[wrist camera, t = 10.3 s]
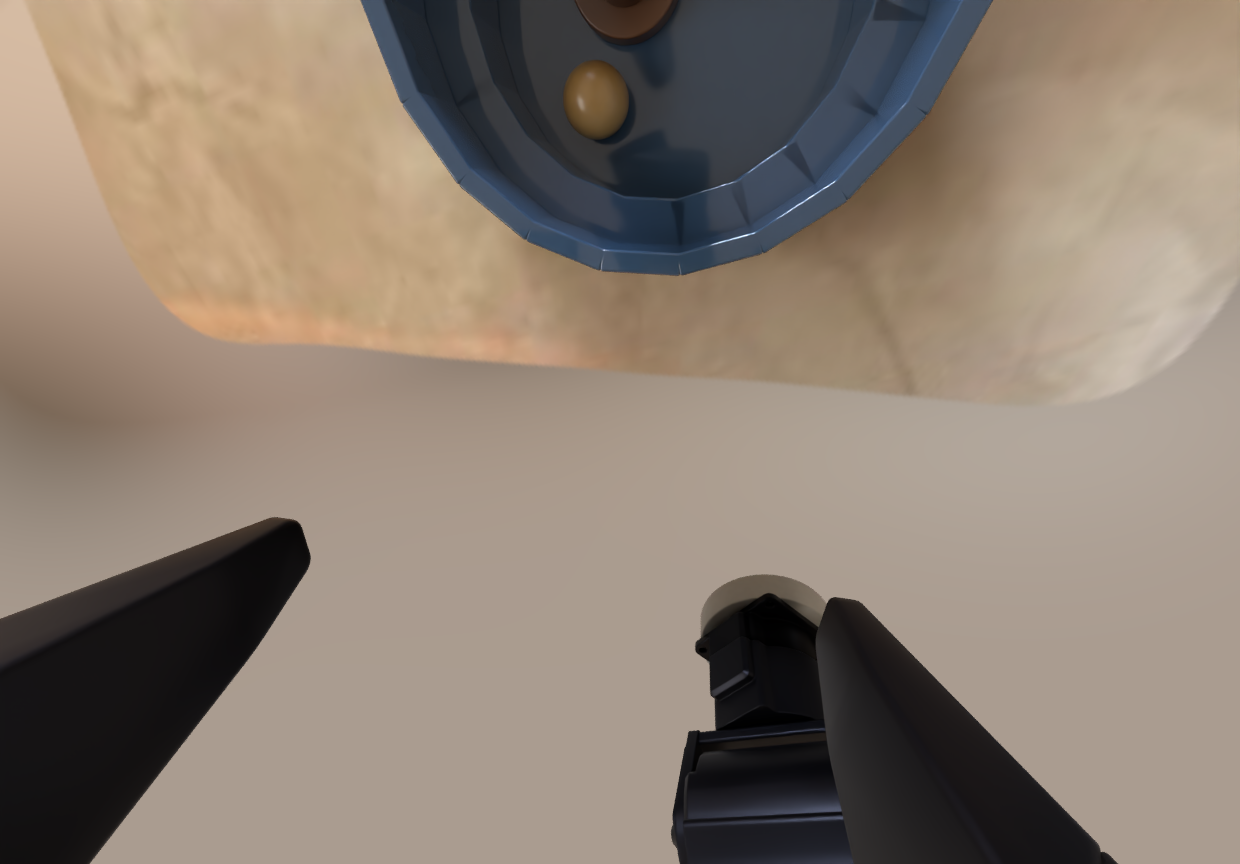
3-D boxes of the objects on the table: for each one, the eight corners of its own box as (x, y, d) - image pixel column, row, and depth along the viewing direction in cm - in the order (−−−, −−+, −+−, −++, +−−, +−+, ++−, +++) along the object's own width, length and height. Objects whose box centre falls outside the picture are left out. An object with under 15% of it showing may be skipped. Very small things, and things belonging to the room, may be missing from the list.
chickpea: (645, 98, 15) (638, 86, 13) (607, 156, 16) (596, 152, 14) (595, 52, 15) (581, 33, 13) (559, 113, 16) (542, 104, 14)
